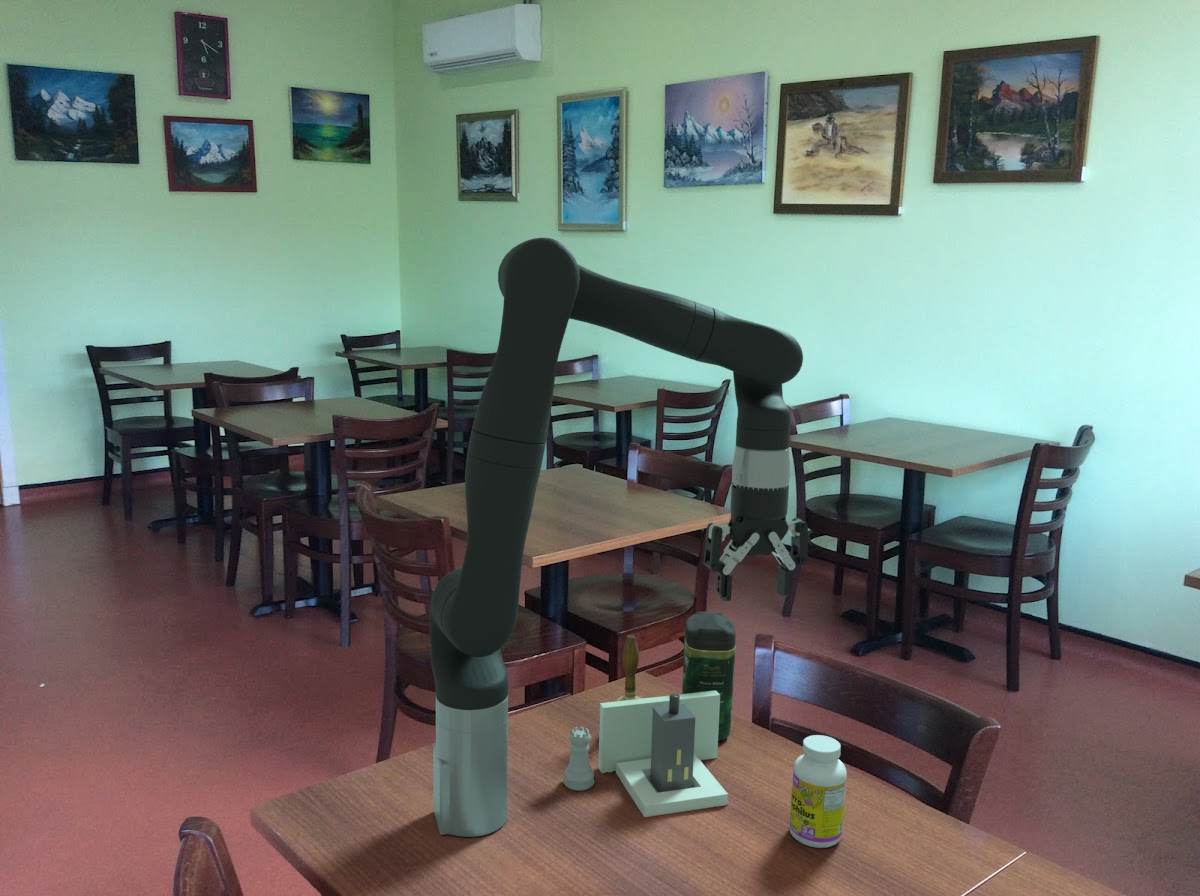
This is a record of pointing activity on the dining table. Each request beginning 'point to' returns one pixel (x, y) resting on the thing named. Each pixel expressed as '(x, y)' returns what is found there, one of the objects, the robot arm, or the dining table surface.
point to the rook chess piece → (579, 762)
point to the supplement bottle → (818, 793)
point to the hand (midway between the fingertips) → (753, 597)
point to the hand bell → (630, 667)
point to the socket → (630, 752)
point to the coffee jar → (711, 661)
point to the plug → (672, 746)
